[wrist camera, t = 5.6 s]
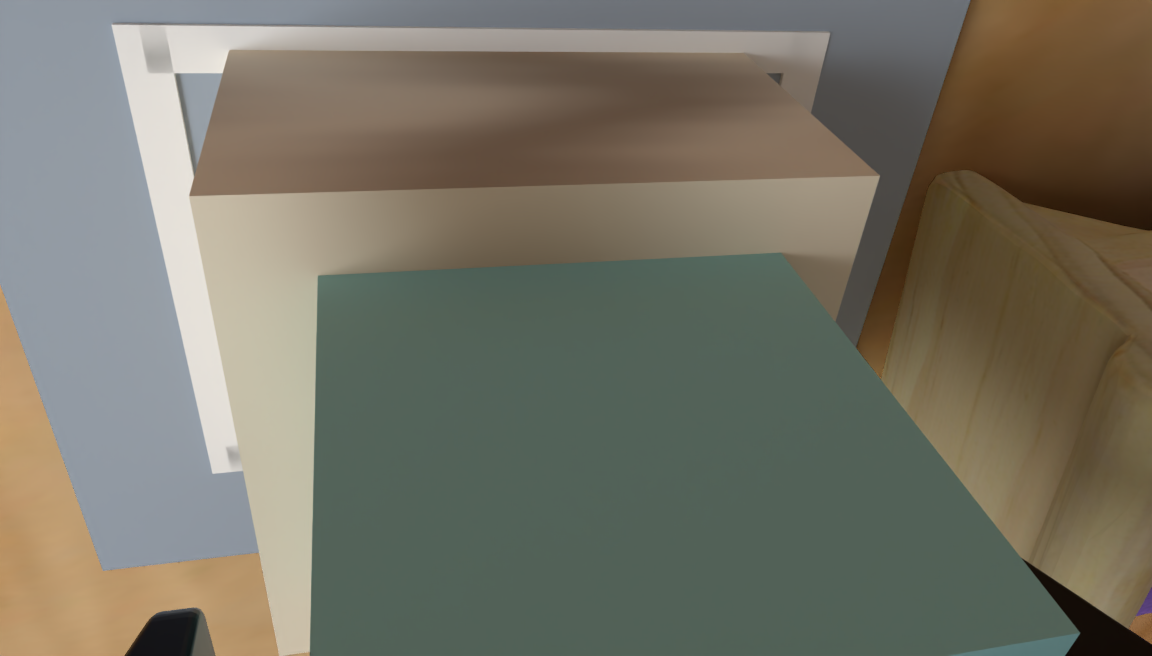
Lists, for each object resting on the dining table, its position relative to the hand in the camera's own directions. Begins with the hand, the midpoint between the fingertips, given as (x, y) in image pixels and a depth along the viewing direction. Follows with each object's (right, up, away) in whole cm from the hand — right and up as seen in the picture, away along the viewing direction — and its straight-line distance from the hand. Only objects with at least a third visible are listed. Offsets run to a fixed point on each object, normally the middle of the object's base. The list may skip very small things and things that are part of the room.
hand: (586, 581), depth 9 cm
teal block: (0, +1, +2) cm, 2 cm away
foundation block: (-1, +4, +5) cm, 6 cm away
